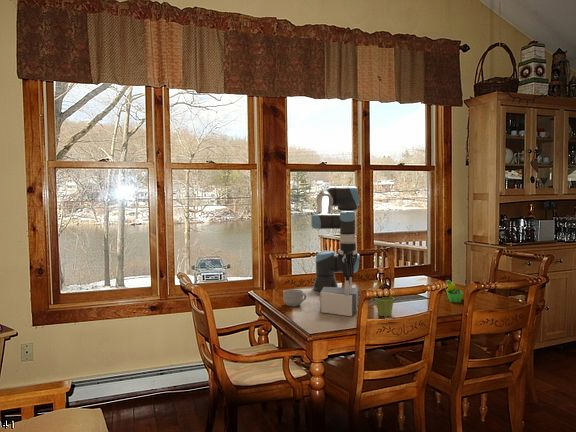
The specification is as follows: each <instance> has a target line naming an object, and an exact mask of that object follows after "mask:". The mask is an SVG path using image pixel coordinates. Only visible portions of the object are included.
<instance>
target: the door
mask: <svg viewBox="0 0 576 432" xmlns="http://www.w3.org/2000/svg"><path fill="white" fill-rule="evenodd" d="M344 288H345V295H343V294H334V293H325V292H321V291H319V312H320V313H325V314H332V315H341V316H345V317H346V316H347V317H353V314H352V295H349V281H346V280H344Z"/></svg>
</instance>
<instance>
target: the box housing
mask: <svg viewBox="0 0 576 432" xmlns="http://www.w3.org/2000/svg"><path fill="white" fill-rule="evenodd" d="M320 292H325V293H334V294H343V295H345V286H344V287H339V286H338V287H323V289H322V290H321V291H320ZM358 292H359V289H358V287H352V290H351V291H350V290H349V295H352V315H356V314H357V312H358V308H357V305H358V303H359V301H358V300H359V294H358ZM358 306H359V305H358Z"/></svg>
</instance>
